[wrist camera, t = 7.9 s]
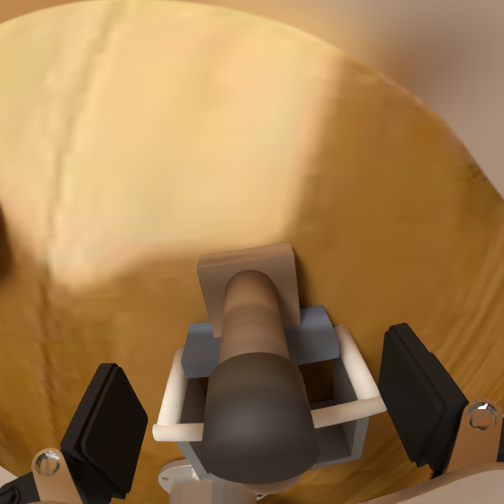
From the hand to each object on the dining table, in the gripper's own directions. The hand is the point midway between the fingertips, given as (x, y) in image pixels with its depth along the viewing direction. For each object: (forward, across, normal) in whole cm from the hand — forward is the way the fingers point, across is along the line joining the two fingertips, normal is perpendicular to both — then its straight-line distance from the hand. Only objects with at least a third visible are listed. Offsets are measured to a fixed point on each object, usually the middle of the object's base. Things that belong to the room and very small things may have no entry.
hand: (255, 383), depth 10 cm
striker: (+9, 0, +1) cm, 9 cm away
